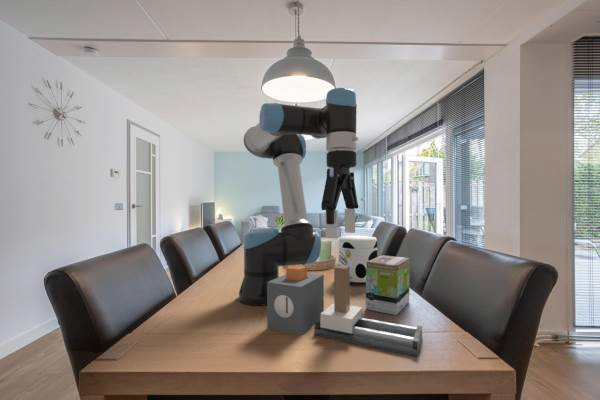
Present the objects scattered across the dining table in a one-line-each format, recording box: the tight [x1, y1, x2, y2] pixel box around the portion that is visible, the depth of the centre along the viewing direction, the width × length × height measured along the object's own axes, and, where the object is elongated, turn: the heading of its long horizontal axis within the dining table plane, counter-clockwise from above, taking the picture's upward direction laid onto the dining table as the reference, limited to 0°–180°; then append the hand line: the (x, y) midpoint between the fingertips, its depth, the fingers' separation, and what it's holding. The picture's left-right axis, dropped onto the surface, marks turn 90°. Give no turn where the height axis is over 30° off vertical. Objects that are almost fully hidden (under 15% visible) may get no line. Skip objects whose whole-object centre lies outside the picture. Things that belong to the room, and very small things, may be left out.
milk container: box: [336, 235, 378, 285], centre depth 127 cm, size 17×17×18 cm
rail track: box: [313, 317, 423, 357], centre depth 75 cm, size 24×10×3 cm, turn 63°
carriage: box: [320, 265, 364, 333], centre depth 78 cm, size 8×9×14 cm
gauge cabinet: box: [266, 272, 325, 337], centre depth 84 cm, size 10×14×12 cm
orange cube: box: [285, 265, 308, 281], centre depth 84 cm, size 4×4×4 cm
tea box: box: [365, 254, 411, 316], centre depth 98 cm, size 15×10×15 cm, turn 148°
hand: (341, 235), depth 79 cm, fingers open, 13 cm apart
